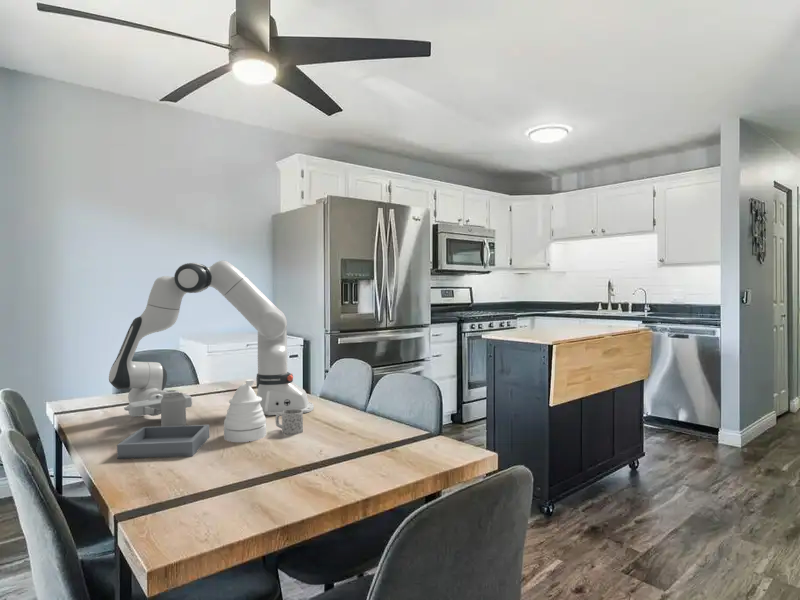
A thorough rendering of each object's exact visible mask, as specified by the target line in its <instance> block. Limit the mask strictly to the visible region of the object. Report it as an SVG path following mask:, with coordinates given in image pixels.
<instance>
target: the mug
mask: <svg viewBox="0 0 800 600" xmlns="http://www.w3.org/2000/svg"><path fill="white" fill-rule="evenodd" d="M303 415H304V413H303V411H302V410H300V409H289V410H284V411H282V412H280V413H277V414H276V415H275V425H276V427H278V428H279V429H281V433H282V434H284V435H290V436H292V435H298V434H301V433H303V432H304V422H303V421H304V419H303V418H304V416H303ZM280 416H281V423H280Z"/></svg>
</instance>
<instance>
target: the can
mask: <svg viewBox="0 0 800 600" xmlns="http://www.w3.org/2000/svg"><path fill="white" fill-rule="evenodd" d="M160 417H161V419H160V421H161V423H160V424H161V425H160V426H183V425H187V408H186V398H185V397H184V396H183V392H179V393H168V394H165V395H163V398H162V400H161V414H160Z"/></svg>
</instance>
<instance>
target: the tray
mask: <svg viewBox="0 0 800 600" xmlns="http://www.w3.org/2000/svg"><path fill="white" fill-rule="evenodd" d="M210 437H211V436H210V424H191V425H188V424H186V425H183V426H161V425H160V426H156V425H155V426H142V427H141V428H139V429H137V430H136V431H135V432H134V433H131V434H130V435H129V436H128V437H126V438H125V439H123V440H122V441H121V442H119V443H118V444H117V445H116V449H117V451H116V452H117V453H116V457H117V458H116V459H117V460H126V459H128V460H130V459H131V458H134V459H149V458H148V457H160V458H178V457H177V456H185V457H193V456H195V454H196V453H197V452H198V451H199V450H200V448H202V447H203V445H204V444H205V443H206V442H207V441H208V440H209V438H210ZM207 439H208V440H207ZM198 449H199V450H198ZM197 450H198V451H197ZM131 460H132V459H131Z"/></svg>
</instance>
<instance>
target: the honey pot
mask: <svg viewBox="0 0 800 600" xmlns="http://www.w3.org/2000/svg"><path fill="white" fill-rule="evenodd" d="M254 382H255V379H245V383H241V385H239V386H238V387H237V388H236V391H234V394H233V396H232V398H230V399H229V401H228V403H229V407H228V409H227V410H226V414H225V418H224V420H223V439H224V441H226V440H227V441H226V442H230V441H231V442H230V443H249V441H250V442H255V441H259V440H260V439H263V438H265V437H266V436H267V423H266V422H267V418H266V415H265V414H264V412H263V411H262V410H263V409H262V407H261V405H260V402H261V401H262V398H261V397H259V396H257V393H256V392H255V390H254V389H253V387H252V386H253V385H254Z"/></svg>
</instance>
